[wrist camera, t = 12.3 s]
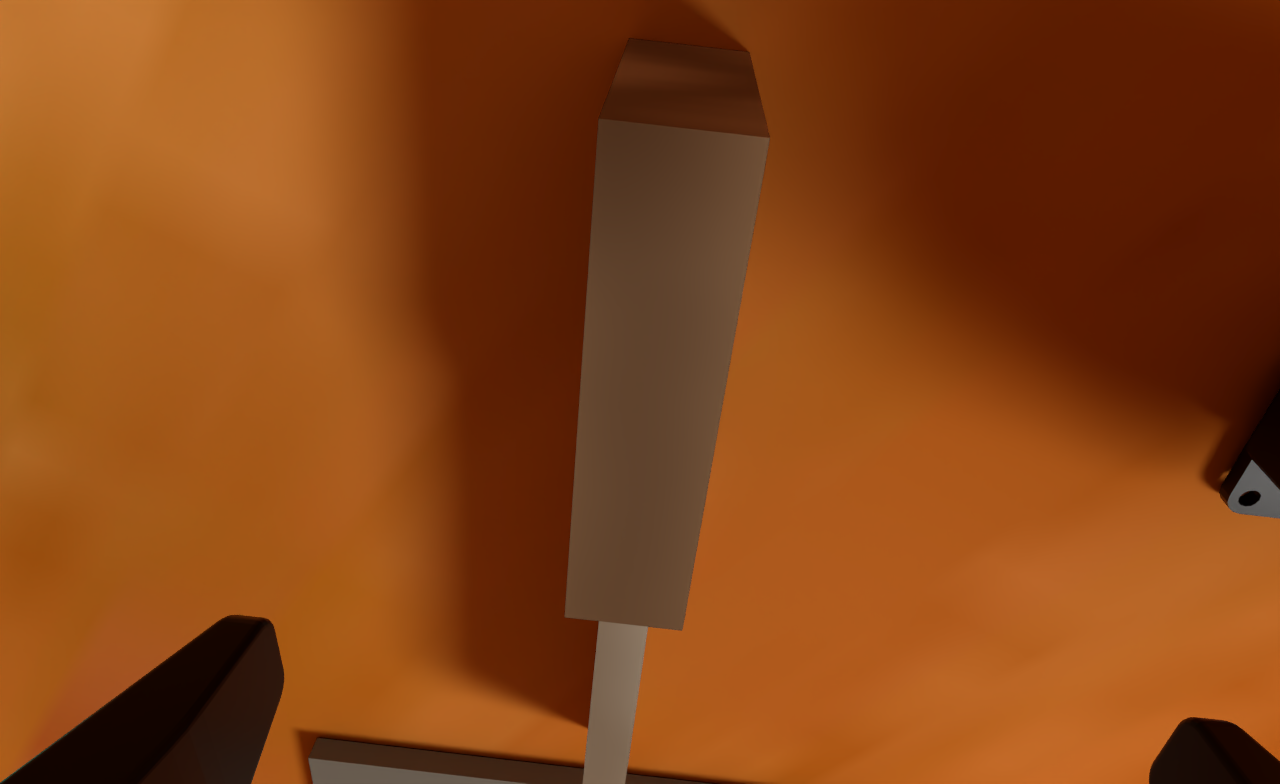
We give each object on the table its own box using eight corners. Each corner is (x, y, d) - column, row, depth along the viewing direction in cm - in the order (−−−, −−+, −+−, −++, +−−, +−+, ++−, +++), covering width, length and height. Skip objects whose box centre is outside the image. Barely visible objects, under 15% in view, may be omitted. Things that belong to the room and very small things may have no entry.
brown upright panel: (749, 51, 17) (770, 138, 12) (642, 736, 29) (629, 925, 24) (629, 38, 17) (599, 118, 12) (571, 728, 29) (544, 915, 24)
